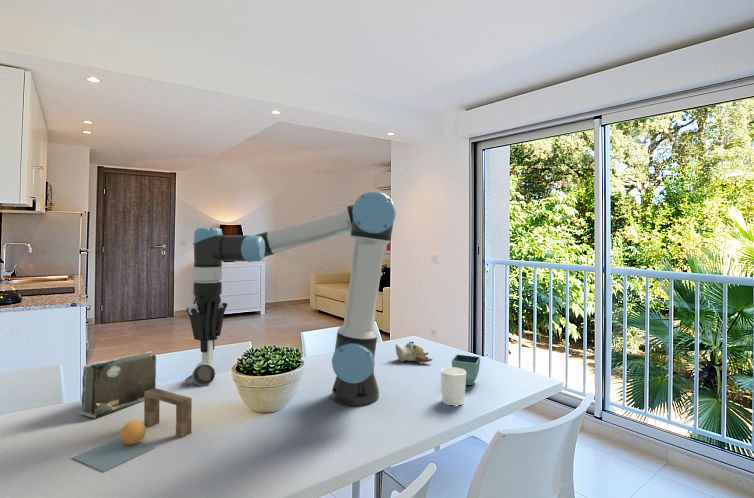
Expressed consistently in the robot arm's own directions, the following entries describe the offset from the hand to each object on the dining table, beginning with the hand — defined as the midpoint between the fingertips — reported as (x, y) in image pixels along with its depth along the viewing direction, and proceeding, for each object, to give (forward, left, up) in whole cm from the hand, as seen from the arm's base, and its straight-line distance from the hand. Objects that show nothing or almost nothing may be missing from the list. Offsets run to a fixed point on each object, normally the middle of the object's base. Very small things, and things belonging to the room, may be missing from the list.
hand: (207, 362), depth 123 cm
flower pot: (-60, -61, -15) cm, 87 cm away
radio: (+27, +8, -15) cm, 32 cm away
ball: (0, +22, -12) cm, 25 cm away
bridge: (0, +13, -14) cm, 19 cm away
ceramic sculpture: (-34, -77, -15) cm, 85 cm away
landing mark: (0, +27, -14) cm, 31 cm away
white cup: (-61, -42, -15) cm, 75 cm away
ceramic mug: (+21, -16, -15) cm, 30 cm away
